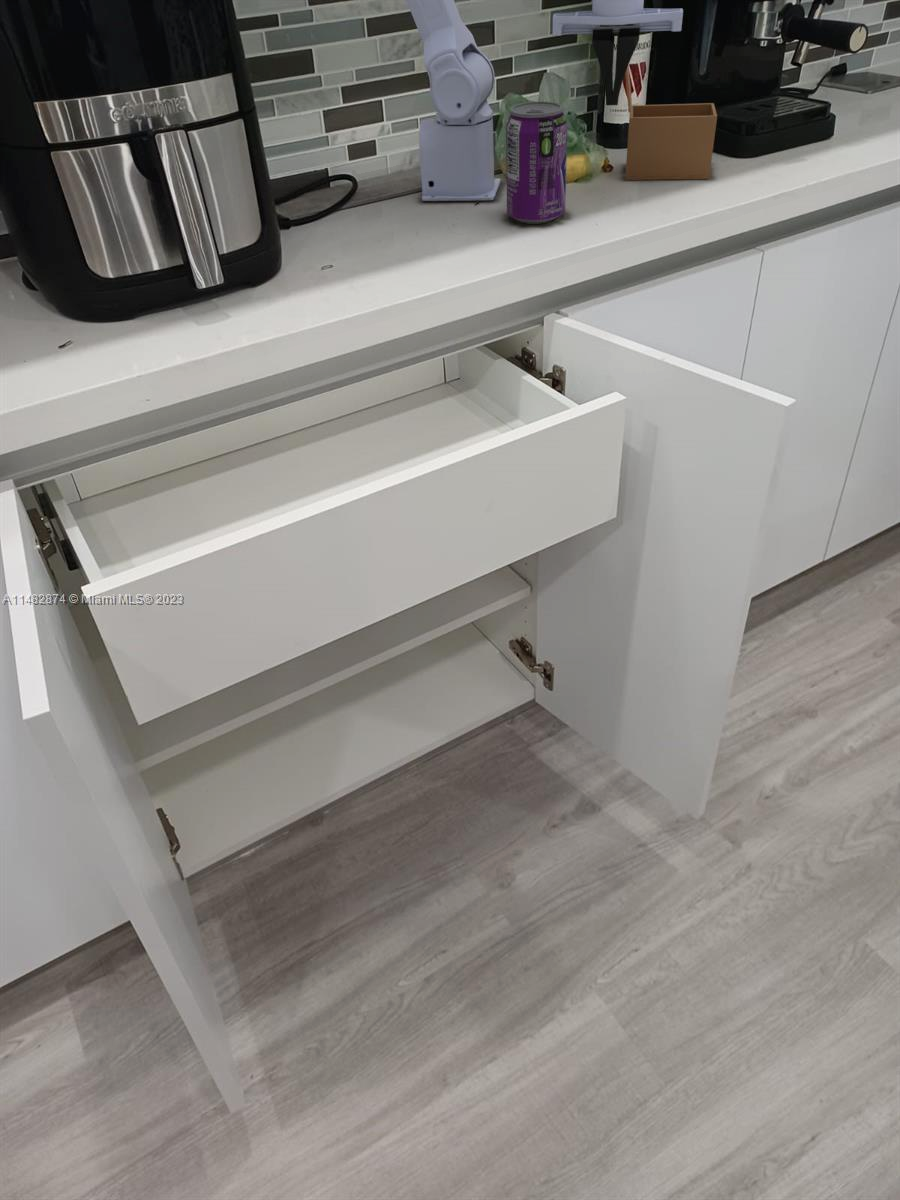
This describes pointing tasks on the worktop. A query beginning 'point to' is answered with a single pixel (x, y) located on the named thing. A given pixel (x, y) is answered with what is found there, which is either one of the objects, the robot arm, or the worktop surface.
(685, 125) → the carton
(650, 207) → the worktop surface
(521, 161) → the beverage can
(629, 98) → the flap
